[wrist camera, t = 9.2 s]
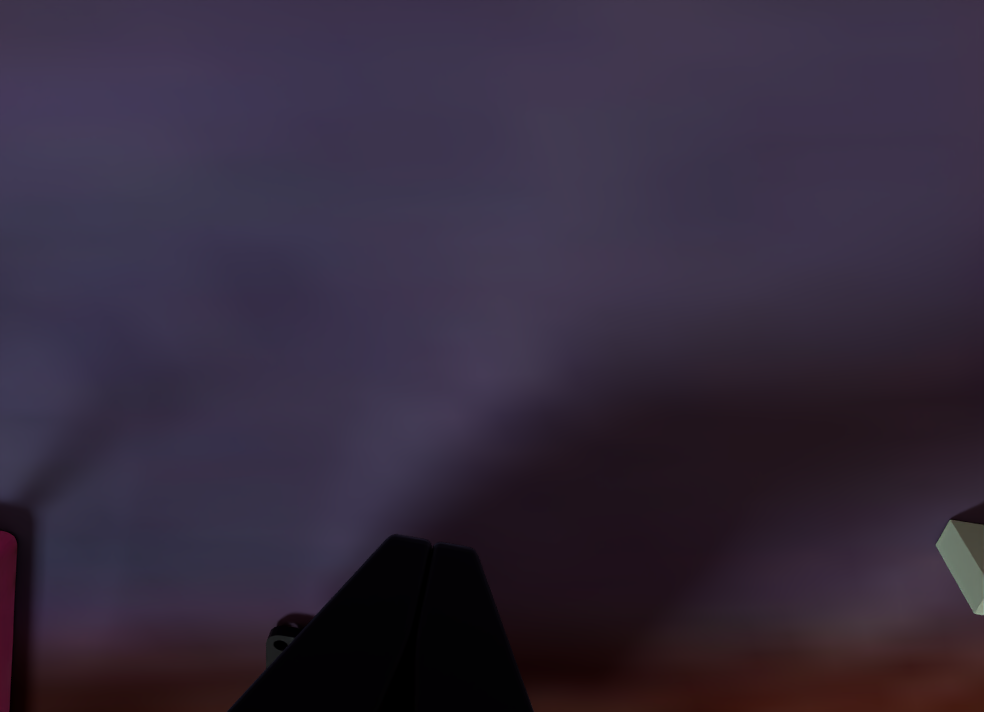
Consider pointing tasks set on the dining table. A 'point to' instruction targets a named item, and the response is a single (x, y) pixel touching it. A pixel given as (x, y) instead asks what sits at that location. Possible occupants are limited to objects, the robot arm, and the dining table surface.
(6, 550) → the file sorter
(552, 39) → the dining table surface
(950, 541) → the corral
